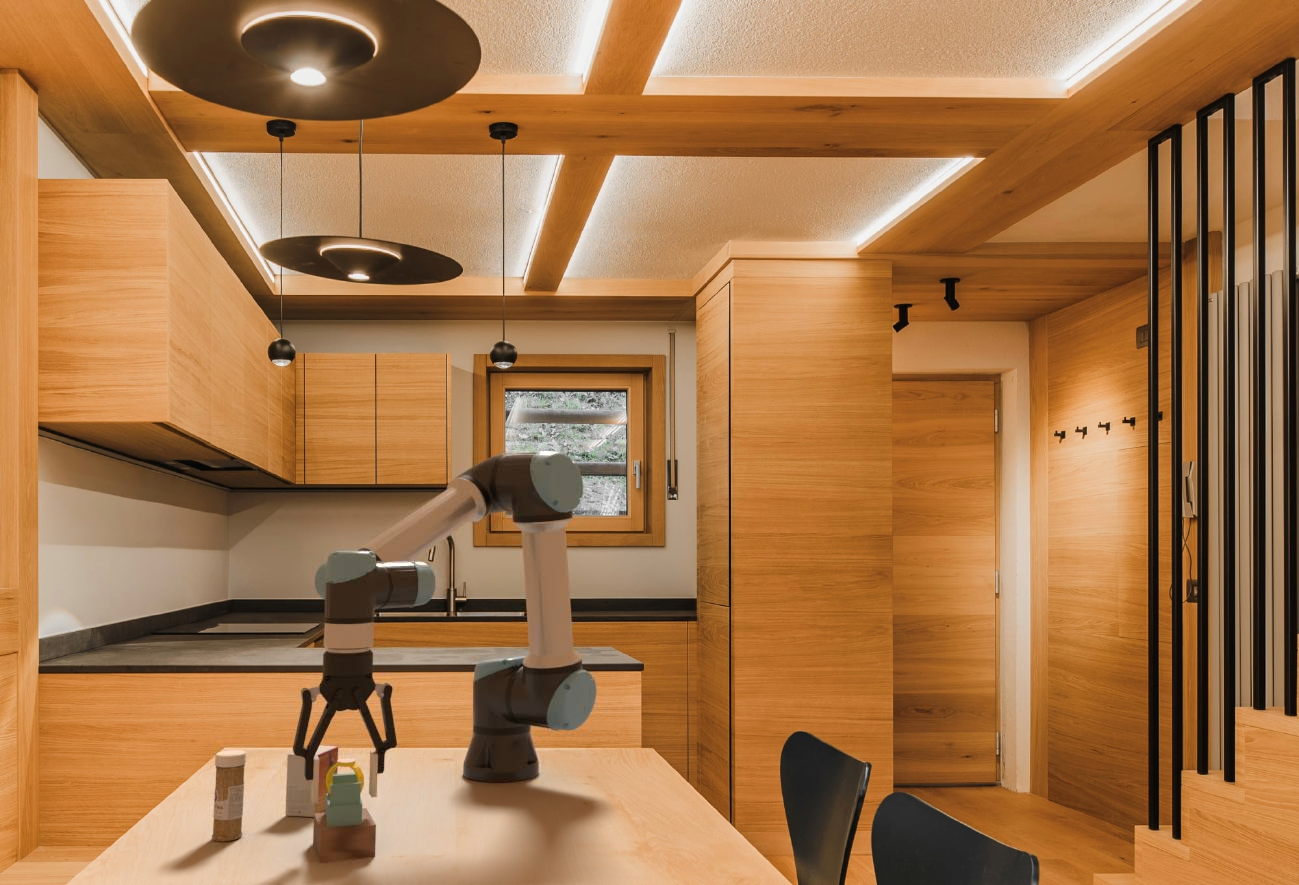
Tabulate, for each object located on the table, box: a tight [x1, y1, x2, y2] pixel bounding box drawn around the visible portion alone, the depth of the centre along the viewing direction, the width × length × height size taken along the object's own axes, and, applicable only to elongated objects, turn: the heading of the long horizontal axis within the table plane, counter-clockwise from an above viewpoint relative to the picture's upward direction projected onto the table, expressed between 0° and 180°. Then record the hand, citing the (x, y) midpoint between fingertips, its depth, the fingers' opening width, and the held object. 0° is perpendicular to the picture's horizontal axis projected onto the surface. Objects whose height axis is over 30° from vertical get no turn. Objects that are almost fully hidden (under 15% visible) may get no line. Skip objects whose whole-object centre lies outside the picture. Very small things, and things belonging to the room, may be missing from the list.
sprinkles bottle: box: [211, 749, 247, 842], centre depth 163 cm, size 5×5×14 cm
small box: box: [285, 744, 339, 818], centre depth 179 cm, size 8×6×10 cm
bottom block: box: [312, 807, 377, 864], centre depth 157 cm, size 8×10×5 cm
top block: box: [325, 772, 363, 827], centre depth 158 cm, size 5×8×6 cm, turn 19°
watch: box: [326, 758, 365, 794], centre depth 158 cm, size 6×3×6 cm, turn 73°
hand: (343, 797), depth 158 cm, fingers open, 8 cm apart
